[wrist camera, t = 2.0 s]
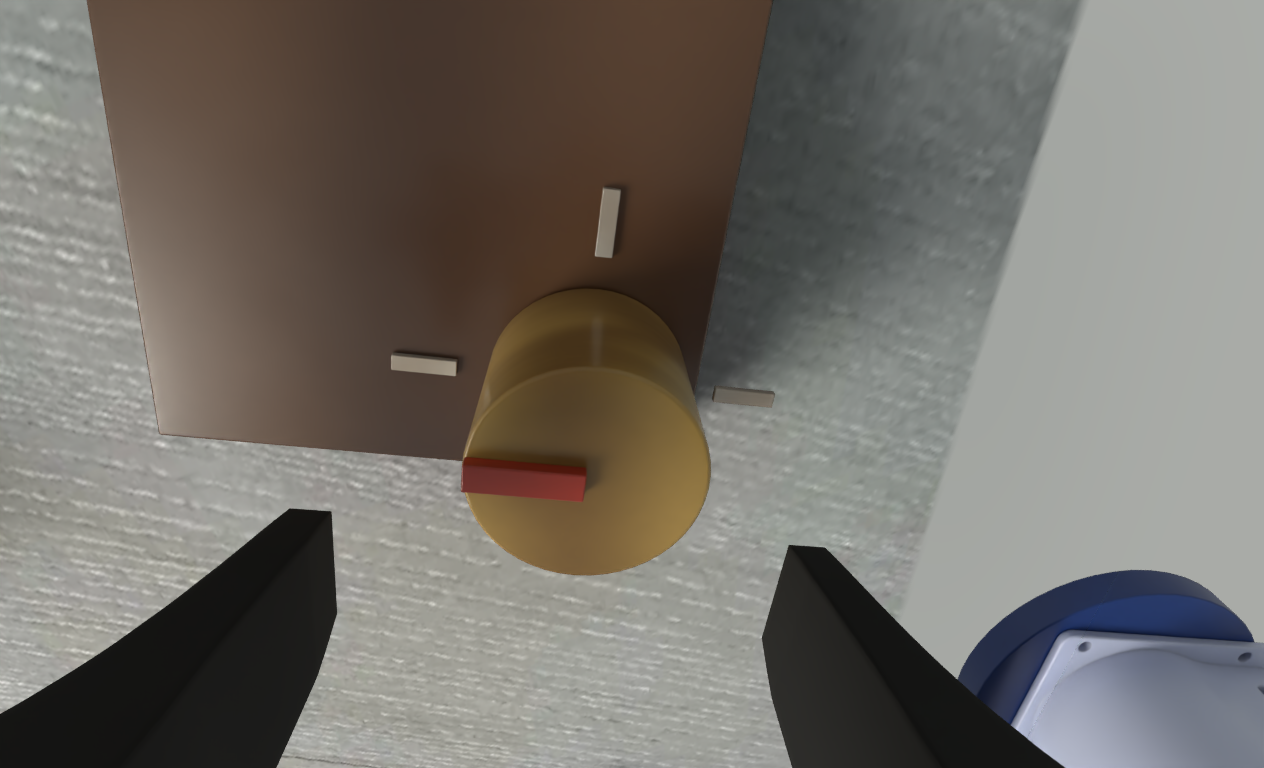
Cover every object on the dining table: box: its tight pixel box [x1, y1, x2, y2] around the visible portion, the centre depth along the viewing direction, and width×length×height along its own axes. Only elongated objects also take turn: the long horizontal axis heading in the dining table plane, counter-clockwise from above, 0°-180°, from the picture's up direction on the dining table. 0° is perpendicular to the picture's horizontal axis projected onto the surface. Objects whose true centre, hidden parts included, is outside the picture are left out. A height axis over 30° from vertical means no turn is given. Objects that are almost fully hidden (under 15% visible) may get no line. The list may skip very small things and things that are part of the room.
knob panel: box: [87, 0, 775, 461], centre depth 15 cm, size 14×20×3 cm
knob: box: [461, 289, 711, 575], centre depth 15 cm, size 4×4×4 cm
